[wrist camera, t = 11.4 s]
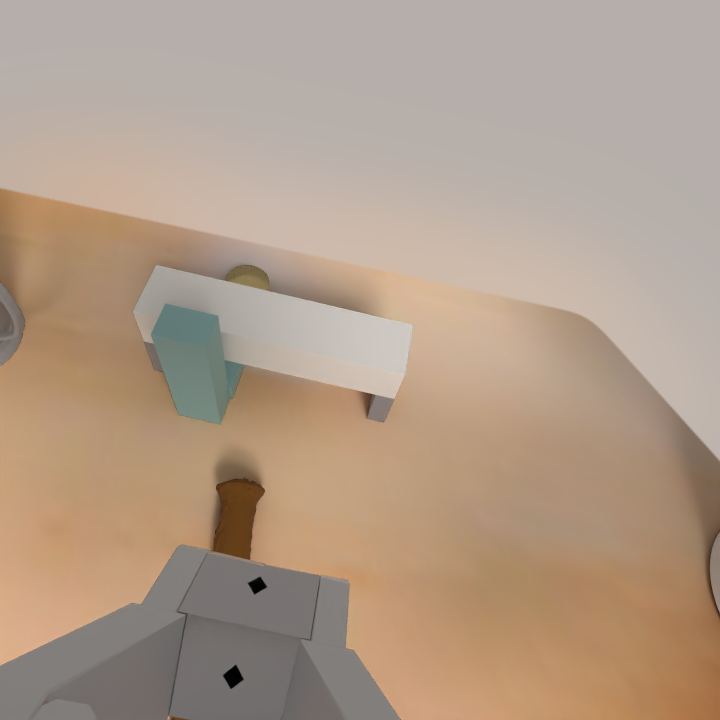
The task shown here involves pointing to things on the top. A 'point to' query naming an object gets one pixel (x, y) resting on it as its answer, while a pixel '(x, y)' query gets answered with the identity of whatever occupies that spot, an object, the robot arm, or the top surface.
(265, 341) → the white bench
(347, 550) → the top surface
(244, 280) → the token
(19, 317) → the glass holder
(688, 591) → the top surface
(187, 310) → the block
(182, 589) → the robot arm
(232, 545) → the primitive tool
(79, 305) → the top surface
